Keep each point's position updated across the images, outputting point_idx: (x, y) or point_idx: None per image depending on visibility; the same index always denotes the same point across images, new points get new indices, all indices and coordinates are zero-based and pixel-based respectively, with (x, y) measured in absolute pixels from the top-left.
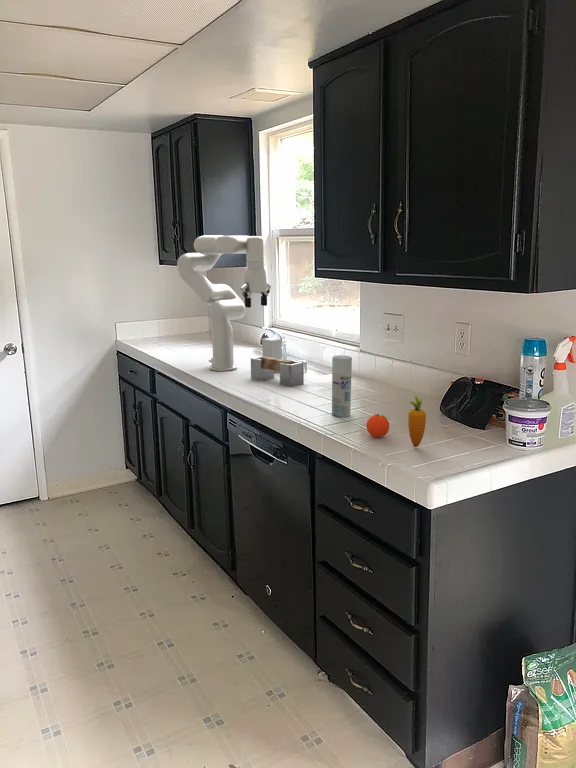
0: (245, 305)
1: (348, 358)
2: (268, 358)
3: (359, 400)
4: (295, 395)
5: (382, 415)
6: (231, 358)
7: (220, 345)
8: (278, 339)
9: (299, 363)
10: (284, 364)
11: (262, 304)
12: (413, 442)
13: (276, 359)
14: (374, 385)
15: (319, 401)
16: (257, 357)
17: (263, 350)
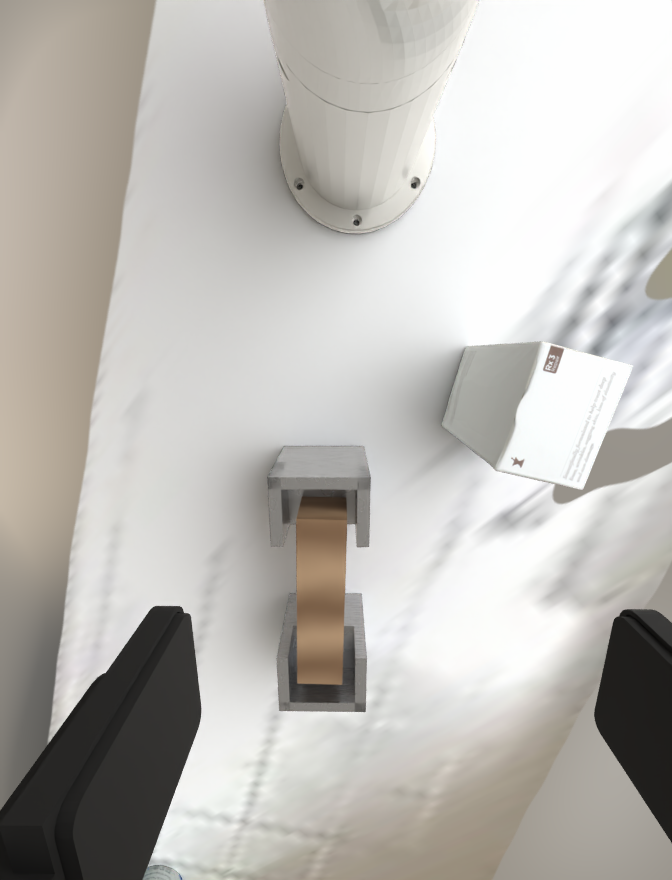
0: (146, 636)
1: None
2: (303, 571)
3: (304, 845)
4: (217, 713)
5: None
6: (371, 191)
7: (295, 111)
8: (557, 483)
9: (337, 710)
10: (278, 679)
11: (620, 659)
12: None
13: (312, 613)
14: (491, 791)
15: (217, 790)
16: (309, 487)
17: (499, 357)
